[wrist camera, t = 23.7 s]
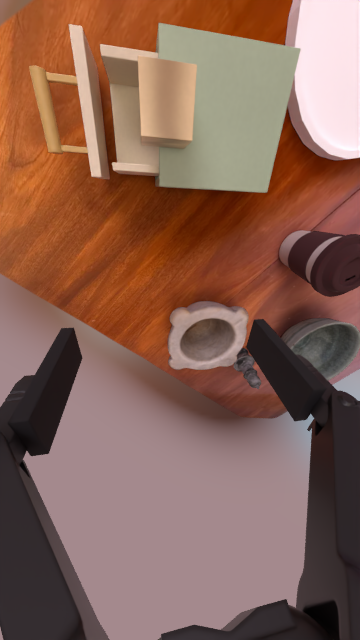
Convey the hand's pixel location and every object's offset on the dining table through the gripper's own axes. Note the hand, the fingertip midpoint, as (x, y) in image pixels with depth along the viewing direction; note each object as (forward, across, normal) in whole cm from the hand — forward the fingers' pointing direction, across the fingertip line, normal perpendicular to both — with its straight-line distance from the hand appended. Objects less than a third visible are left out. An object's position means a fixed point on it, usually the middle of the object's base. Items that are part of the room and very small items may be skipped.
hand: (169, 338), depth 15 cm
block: (+19, +1, +16) cm, 25 cm away
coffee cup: (+29, +30, 0) cm, 42 cm away
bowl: (+29, +40, -24) cm, 55 cm away
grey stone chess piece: (+29, +24, -30) cm, 48 cm away
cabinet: (+29, +8, +16) cm, 34 cm away
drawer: (+28, -3, +16) cm, 32 cm away
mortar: (+29, +11, -17) cm, 35 cm away
